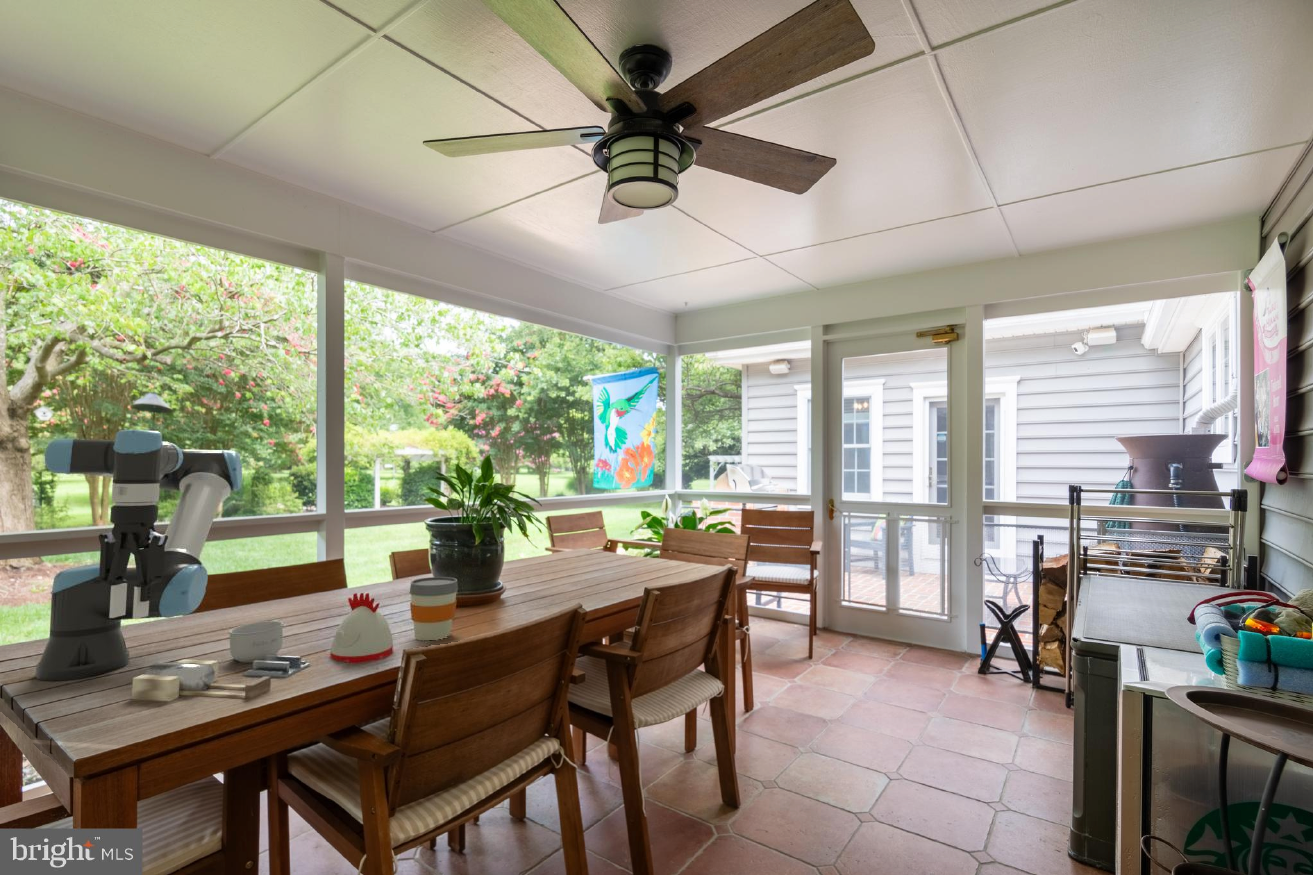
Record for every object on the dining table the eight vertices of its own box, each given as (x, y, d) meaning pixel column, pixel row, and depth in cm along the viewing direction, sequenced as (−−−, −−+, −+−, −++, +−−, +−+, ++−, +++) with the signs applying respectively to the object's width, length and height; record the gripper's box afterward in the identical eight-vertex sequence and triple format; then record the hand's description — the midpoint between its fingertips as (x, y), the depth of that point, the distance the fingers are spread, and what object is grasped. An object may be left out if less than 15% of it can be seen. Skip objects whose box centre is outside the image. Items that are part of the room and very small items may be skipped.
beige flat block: (131, 701, 118) (132, 678, 118) (182, 680, 129) (183, 659, 129) (239, 707, 116) (240, 683, 116) (281, 685, 127) (282, 664, 127)
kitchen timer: (355, 644, 157) (358, 586, 158) (404, 647, 154) (406, 589, 155) (317, 661, 143) (319, 597, 144) (369, 665, 141) (371, 600, 141)
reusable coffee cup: (448, 627, 174) (450, 575, 174) (463, 638, 164) (464, 582, 164) (402, 634, 166) (404, 579, 167) (415, 645, 156) (417, 587, 157)
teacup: (255, 669, 137) (256, 633, 137) (215, 665, 139) (217, 630, 139) (302, 650, 151) (304, 618, 151) (265, 647, 153) (267, 615, 153)
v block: (242, 677, 131) (243, 663, 132) (269, 665, 139) (269, 652, 139) (285, 679, 130) (286, 665, 131) (309, 667, 138) (310, 654, 139)
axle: (142, 692, 121) (144, 667, 121) (165, 683, 126) (166, 659, 126) (193, 695, 120) (194, 669, 120) (214, 686, 125) (215, 661, 125)
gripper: (78, 504, 123) (71, 619, 122) (157, 506, 121) (151, 623, 120) (114, 501, 130) (108, 610, 129) (189, 503, 129) (183, 613, 128)
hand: (128, 616), depth 125 cm, fingers open, 4 cm apart
